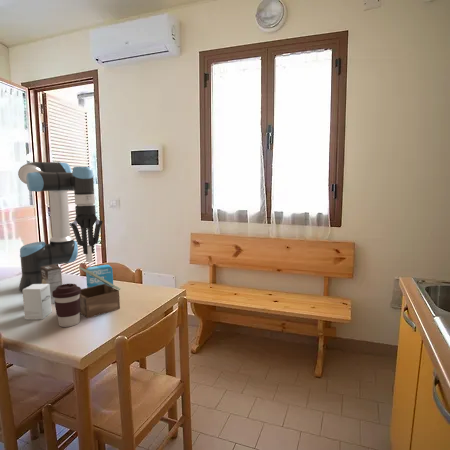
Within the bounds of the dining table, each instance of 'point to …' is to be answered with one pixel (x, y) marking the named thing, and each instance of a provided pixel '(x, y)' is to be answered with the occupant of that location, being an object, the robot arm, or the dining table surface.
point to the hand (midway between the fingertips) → (89, 261)
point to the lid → (99, 278)
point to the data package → (101, 271)
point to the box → (98, 300)
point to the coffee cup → (67, 304)
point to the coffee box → (51, 277)
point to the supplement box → (37, 301)
